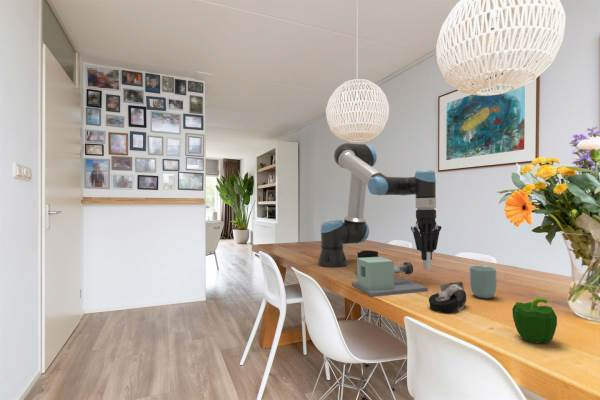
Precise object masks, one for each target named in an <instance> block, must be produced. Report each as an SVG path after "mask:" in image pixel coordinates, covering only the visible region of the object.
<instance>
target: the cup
mask: <svg viewBox="0 0 600 400" xmlns="http://www.w3.org/2000/svg"><path fill="white" fill-rule="evenodd" d="M497 277H498V276H497V269H496V268H495V267H493V266H487V265H470V267H469V282H470V283H469V285H470V291H471V293H472V294H473V295H474V296H475V297H476V298H479V299H484V300H485V299H492V298H494V297H495V296H496V293H497Z"/></svg>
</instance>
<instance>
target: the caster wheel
mask: <svg viewBox="0 0 600 400" xmlns="http://www.w3.org/2000/svg"><path fill="white" fill-rule="evenodd" d="M439 286H440V291H438V292H437V293H434V294H432V295H430V296H429V297H428V303H429V307H430V309H431V310H432V311H434V312H436V313H451V312H454V311H455V312H457V311H458V312H459V311H461V310H463V309H464V307H465V305H466V302H467V293H466V291H465V287H464V283H463V281H455V282H449V283H440V285H439Z"/></svg>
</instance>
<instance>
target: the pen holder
mask: <svg viewBox="0 0 600 400" xmlns="http://www.w3.org/2000/svg"><path fill="white" fill-rule="evenodd" d="M368 257H379V252H378V251H377V250H369V249H368V250H362V251H360V252H359V251H357V258H368Z"/></svg>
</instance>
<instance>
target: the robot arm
mask: <svg viewBox="0 0 600 400" xmlns="http://www.w3.org/2000/svg"><path fill="white" fill-rule="evenodd" d="M333 157H334V162H335V163H336V164H337V165H338V166H339V167H340V168H342V169H346V170H347V171H348V172H350V182H349V183H350V184H349V192H348V194H349V195H348V205H347V215H346V216H344V219H343V220H341V219H336V220H335V219H334V220H328V221H324V222H322V224H321V225H320V226H321V228H320V235H321V236H320V239H321V240H320V243H321V244H320V245H321V251H320V254H319V257H318V261H317V262H318V266H320V267H324V268H325V267H327V268H338V267H339V268H341V267H345V266H347V262H348V260H347V257H346V255H345V251H344V245H348V244H350V245H351V244H360V243H364V242H365V241H367V239H368V238H369V235H370V227H369V224H368V223H367V222H366V218H365V217H364V213H365V203H366V201H365V199H366V191H367V189H368V190H369V194H371V195H375V196H411V195H412V196H413V195H415V208H416V210H415V218H416V222H415V225H414V226H410V230H411V232H412V233H413V234H412V235H413V238H414V243H415V247H416V250H417V251H420V252H421V260H422V268H423V269H427V270H431V269H432V265H431V264H432V262H431V261H432V260H433V253H434V252H435V251H436V250H437V248H438V247H437V246H438V241H439V237H440V233H441V230H442V229H443V228H442V226H441V225H438V224H437V221H436V219H437V210H436V209H435V208H437V200H436V199H437V198H436V197H437V195H436V190H437V189H436V186H437V185H436V183H437V180H436V172H435V170H431V169H423V170H422V169H421V170H420V169H419V170H417V171H415V173H414V176H409V177H408V176H407V177H406V176H405V177H403V176H402V177H400V176H398V177H397V176H387V175H384V174H383V173H381V172H380V171H379V170H377V169H376V168H374V166H375V164H376V163H377V159H378V158H377V152H376V149H375V148H374V147H373V145H370V144H364V143H361V144H360V143H350V142H349V143H348V142H346V143H342V144H340V145H339V146H337V148H336V149H335V150H334V152H333Z"/></svg>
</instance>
